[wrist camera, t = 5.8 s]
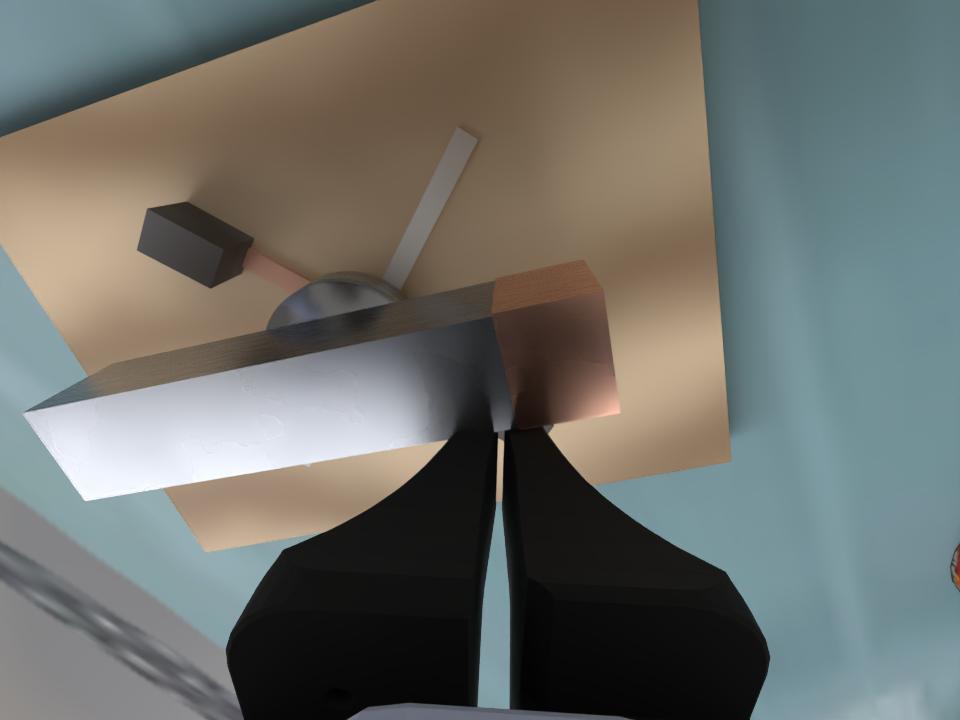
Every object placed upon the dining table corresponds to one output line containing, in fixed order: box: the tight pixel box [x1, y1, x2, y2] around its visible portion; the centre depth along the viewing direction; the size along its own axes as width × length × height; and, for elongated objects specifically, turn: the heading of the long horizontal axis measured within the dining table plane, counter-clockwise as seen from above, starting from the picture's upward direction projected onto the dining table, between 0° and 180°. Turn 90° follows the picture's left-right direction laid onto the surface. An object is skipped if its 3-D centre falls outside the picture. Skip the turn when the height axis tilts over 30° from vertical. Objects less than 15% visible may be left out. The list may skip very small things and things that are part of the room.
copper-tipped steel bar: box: [22, 259, 620, 501], centre depth 11 cm, size 12×4×4 cm, turn 103°
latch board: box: [0, 0, 731, 552], centre depth 14 cm, size 15×20×3 cm
